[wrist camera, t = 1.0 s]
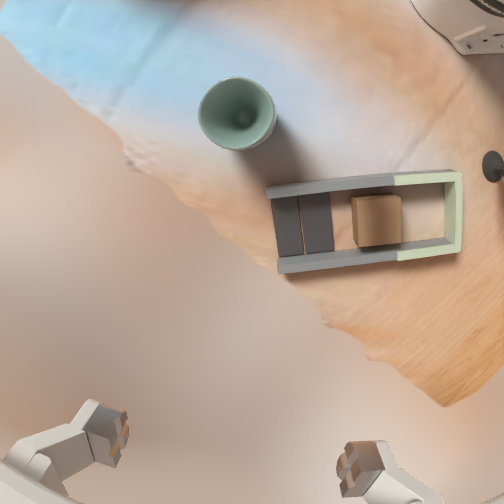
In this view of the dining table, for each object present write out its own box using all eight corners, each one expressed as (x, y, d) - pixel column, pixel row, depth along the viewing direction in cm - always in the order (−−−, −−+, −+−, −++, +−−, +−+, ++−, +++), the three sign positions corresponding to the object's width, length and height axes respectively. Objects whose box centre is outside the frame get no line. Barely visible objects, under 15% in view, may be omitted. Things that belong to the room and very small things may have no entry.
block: (391, 192, 39) (400, 197, 35) (392, 234, 41) (401, 242, 37) (350, 195, 40) (356, 201, 36) (353, 237, 42) (358, 247, 38)
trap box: (450, 169, 36) (461, 172, 33) (450, 244, 40) (460, 251, 36) (266, 186, 40) (265, 190, 37) (279, 265, 44) (278, 275, 41)
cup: (290, 118, 37) (290, 109, 28) (250, 160, 39) (238, 165, 30) (245, 81, 36) (232, 62, 26) (207, 123, 38) (182, 118, 29)
